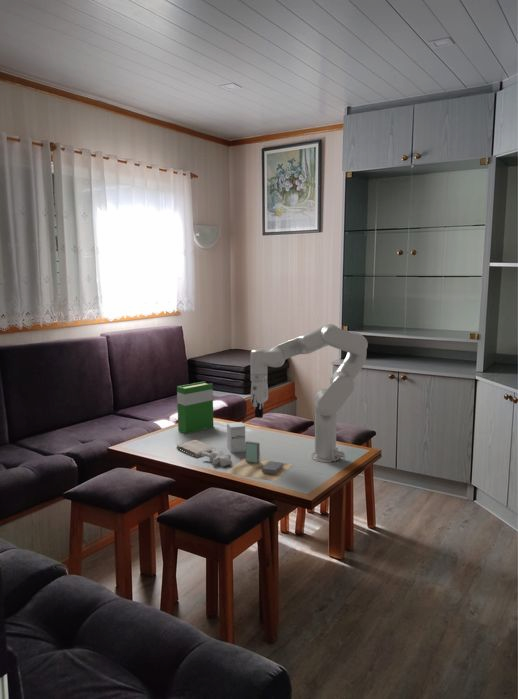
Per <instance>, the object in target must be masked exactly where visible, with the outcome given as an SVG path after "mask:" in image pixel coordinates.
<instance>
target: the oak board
mask: <svg viewBox="0 0 518 699" xmlns="http://www.w3.org/2000/svg"><path fill="white" fill-rule="evenodd" d="M270 461H271V460H265V459H260V462H259V463H251V462H246V456H245V457H244V458H242V460H240V461H238V462H237V463H236V464H234V465H233V466H232V467H231V468H229V469H228V470H227V471H226V472H225V474H230V475H235V476H243V477H246V478H252V479H259V480H260V479H261V480H266V481H273V482H277V480H279V479H280V477H282V476H283V475H284V474H285V473H286V472H287V471H288V470H289V469H290V468H291V467H292V466H293V463H286V462H282V463H283V468H282V469H280V470H279V471H278V472H277V473H276V474H275V475H274V474H268V473H263V472H262V468H263V467H264V466H265V465H266V464H268V463H269V462H270Z"/></svg>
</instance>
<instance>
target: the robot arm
mask: <svg viewBox="0 0 518 699" xmlns="http://www.w3.org/2000/svg"><path fill="white" fill-rule="evenodd" d="M368 344H369V343H368V340H367V338H366V337H365V336H364V335H363V334H361V333H360V332H357V331H352V332H351V331H348V330H345V329H343V328H340V327H338V326H337V325H335V324H332V323H329V324H326V325H323V326H321V327H319V328H317V329H314V330H312V331H309V332H308V333H305V334H303V335H300V336H297V337H295V338H293V339H290V340H287V341H285V342H282V343H280V344H278V345H276V346H274V347H271V348H270V349H269V351H268V350H266V349H264V348H263V349H262V348H255V349H252V350H251V351H250V382H251V384H250V385H251V386H250V402H251V404H253V405H252V406H253V408H254V417H255V418H257V419H261V418H263V417H264V403H265V402H267V401H268V400H269V386H268V367H271V368H280V367H282V366H283V365H284V364H285V361H286V360H288V359H290V358H292V357H295V356H299V355H308V354H311V353H315V352H317V350H318V351H319V350H321V349H323V348H325V347H328V346H329V347H332V348H334V349H337V350H341V351H343V352H346V356H345V358H344V359H343V361H341V364H340V365H339V366H338V367H337V369H336V370H335V371H334V373H332V375H331V377H330V378H329V379H330V380H329V383H330V385H329V387H328V388H323V389H320V390H318V391H317V393H316V394H315V395H314V396H315V397H314V452H313V453H311V459H312V460H313V461H316V462H319V461H320V463H332V462H331V461H334V462H336V460H337V461H338V460H340V458H345V457H346V453H345V452H344V451H343V450H342V451H340V450H339V447H337V413H338V412H339V411H340V410H341V408H342V407H343V405H345V403H346V401H348V399H349V397H350V396H352V393H353V392H354V389H355V381H354V380H356V377H357V376H358V375H359V373H360V371H361V370H362V369H363V366H364V365H365V363H366V360H367V352H368V351H367V349H368V346H369V345H368Z"/></svg>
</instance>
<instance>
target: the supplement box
mask: <svg viewBox="0 0 518 699" xmlns="http://www.w3.org/2000/svg"><path fill="white" fill-rule="evenodd" d="M226 432H227V433H226V437H227V438H226V443H227V445H226V446H227V449H228V451H229V452H230V453H241V452H246V446H245V442H246V426H245V424H244V423H243V422H242V421H240V422H230V423H229V422H228V423H227V422H226Z"/></svg>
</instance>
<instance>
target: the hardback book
mask: <svg viewBox="0 0 518 699" xmlns="http://www.w3.org/2000/svg"><path fill="white" fill-rule="evenodd" d="M213 388H214V386H213V383H207V382H206V381H200V382H193V383H190V384H189V383H188V384H183V385H177V386H176V399H177V400H176V401H177V427H178V428H177V430H178V432H180V433H183V434H191V433H194V432H200V431H202V430H206V429H210V428H214V396H213V395H214V392H213V391H214V390H213Z"/></svg>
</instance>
